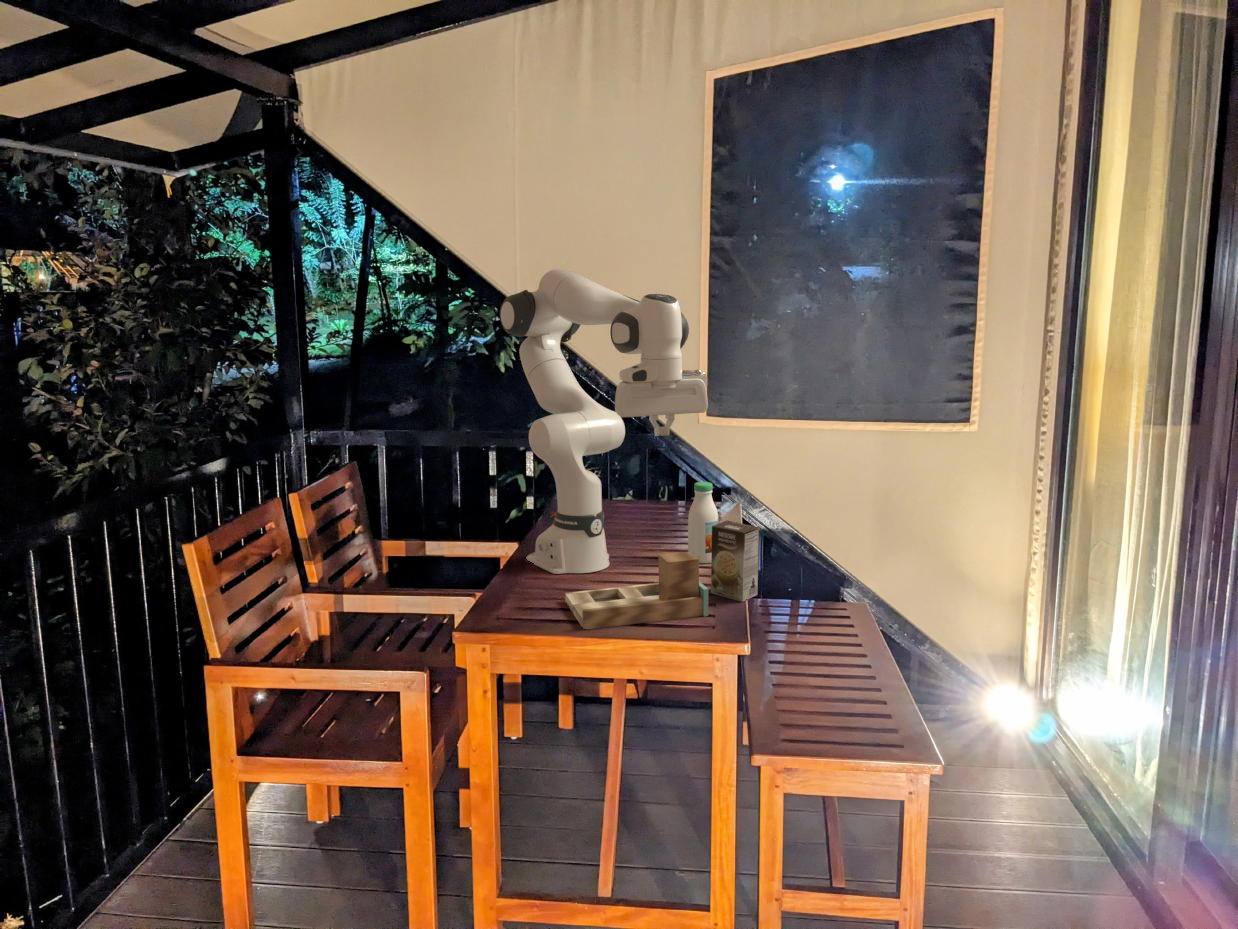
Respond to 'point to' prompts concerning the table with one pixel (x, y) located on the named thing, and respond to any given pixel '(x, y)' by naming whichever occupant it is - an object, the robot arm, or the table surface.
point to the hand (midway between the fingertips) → (662, 435)
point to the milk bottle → (702, 522)
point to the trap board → (628, 606)
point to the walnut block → (678, 576)
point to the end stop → (704, 598)
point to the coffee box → (734, 560)
